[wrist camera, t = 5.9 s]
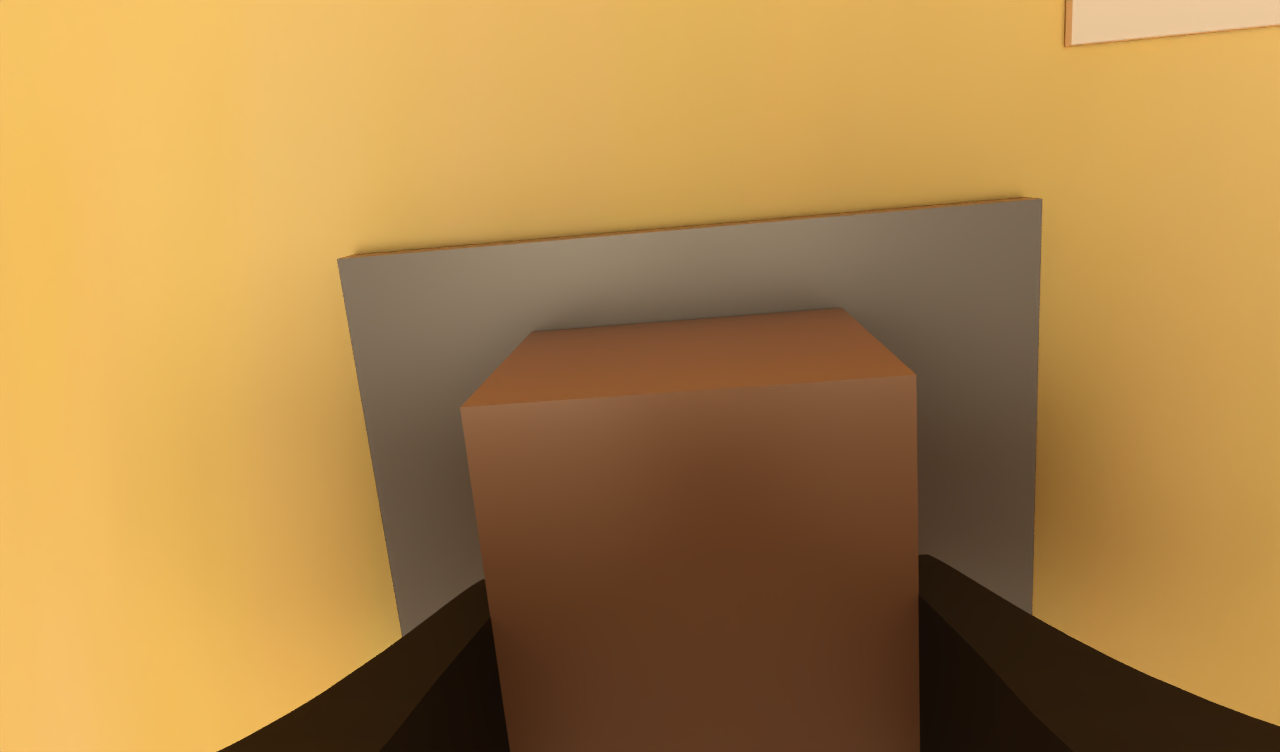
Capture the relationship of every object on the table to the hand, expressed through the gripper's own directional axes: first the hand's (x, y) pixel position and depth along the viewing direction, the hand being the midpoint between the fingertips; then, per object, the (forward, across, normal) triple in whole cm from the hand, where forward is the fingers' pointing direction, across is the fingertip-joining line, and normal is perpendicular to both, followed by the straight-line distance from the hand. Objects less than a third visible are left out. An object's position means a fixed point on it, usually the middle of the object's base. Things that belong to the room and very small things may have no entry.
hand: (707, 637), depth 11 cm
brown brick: (+2, 0, 0) cm, 2 cm away
